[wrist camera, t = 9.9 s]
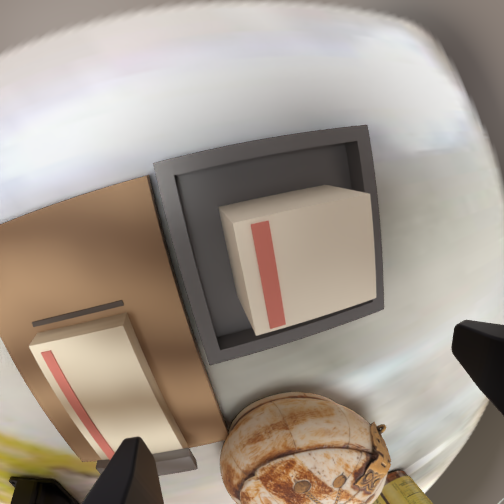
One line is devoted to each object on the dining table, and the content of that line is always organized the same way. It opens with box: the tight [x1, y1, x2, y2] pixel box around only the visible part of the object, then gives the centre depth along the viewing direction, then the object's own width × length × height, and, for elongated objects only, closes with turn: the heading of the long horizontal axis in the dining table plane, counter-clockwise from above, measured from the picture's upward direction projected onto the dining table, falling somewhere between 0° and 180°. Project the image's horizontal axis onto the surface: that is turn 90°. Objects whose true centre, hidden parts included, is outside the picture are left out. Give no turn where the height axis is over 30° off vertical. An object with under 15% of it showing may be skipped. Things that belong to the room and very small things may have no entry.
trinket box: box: [220, 392, 391, 504], centre depth 20 cm, size 13×15×8 cm
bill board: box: [0, 175, 229, 476], centre depth 16 cm, size 18×12×4 cm, turn 11°
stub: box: [218, 185, 376, 336], centre depth 16 cm, size 5×6×5 cm
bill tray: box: [153, 125, 384, 365], centre depth 17 cm, size 11×11×2 cm
